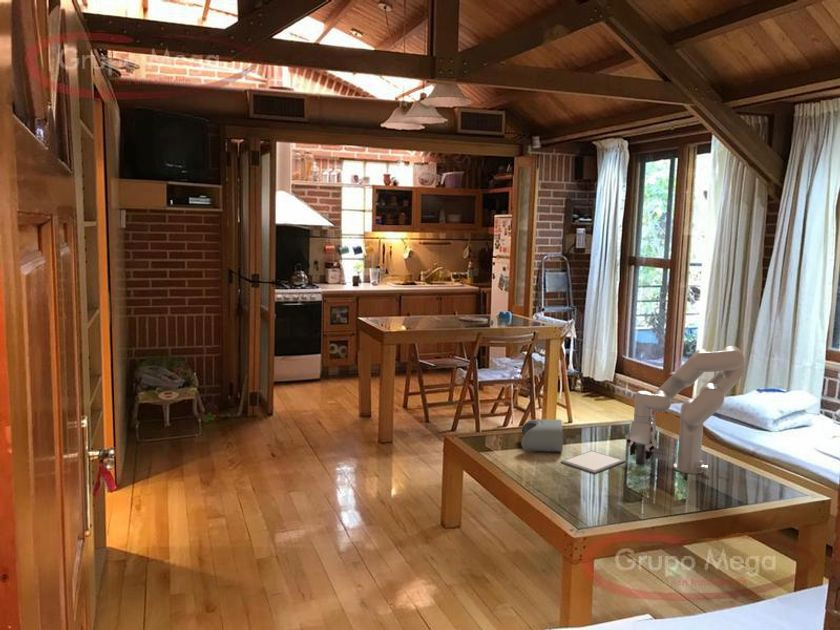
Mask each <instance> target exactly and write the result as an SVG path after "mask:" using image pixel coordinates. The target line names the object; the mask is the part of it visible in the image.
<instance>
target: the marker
mask: <svg viewBox="0 0 840 630" xmlns="http://www.w3.org/2000/svg"><path fill="white" fill-rule="evenodd" d="M645 455H646V452H645V445H643V444H640V443H637V446H636V447H635V464H636V465H641V466H643V465H645Z"/></svg>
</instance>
